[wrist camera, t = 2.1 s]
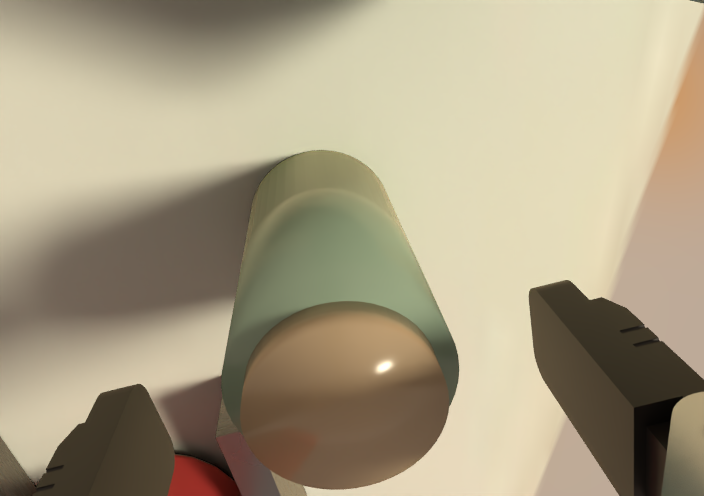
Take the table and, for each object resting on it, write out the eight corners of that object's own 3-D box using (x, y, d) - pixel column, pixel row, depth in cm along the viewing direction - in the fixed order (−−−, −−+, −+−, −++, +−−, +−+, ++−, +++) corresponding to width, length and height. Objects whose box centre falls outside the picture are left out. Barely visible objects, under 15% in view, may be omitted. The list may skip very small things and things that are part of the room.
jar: (232, 170, 16) (177, 343, 8) (375, 135, 16) (454, 276, 8) (273, 292, 18) (258, 527, 10) (401, 261, 18) (484, 473, 10)
